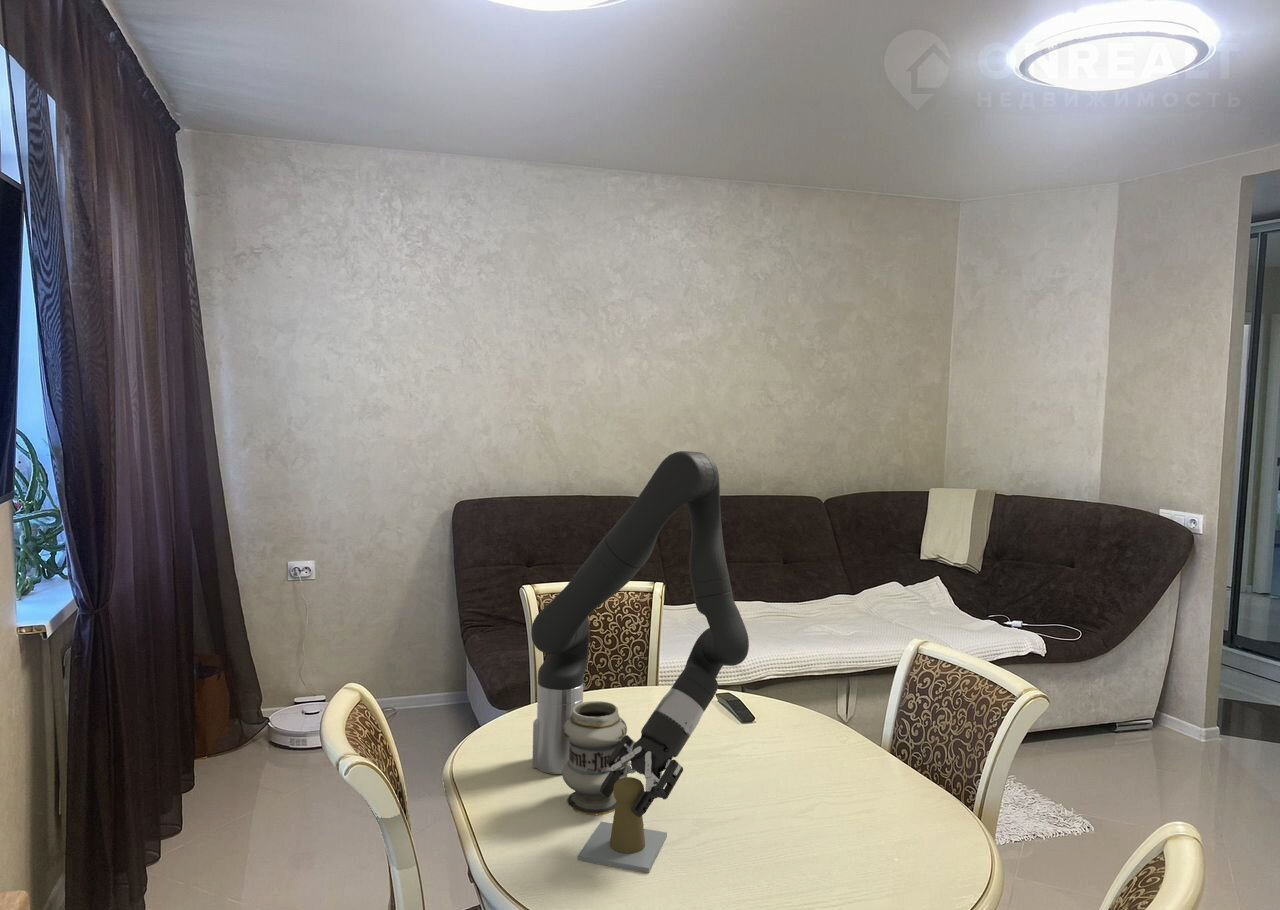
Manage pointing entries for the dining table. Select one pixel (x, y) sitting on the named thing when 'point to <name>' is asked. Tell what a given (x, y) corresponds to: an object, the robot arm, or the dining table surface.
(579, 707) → the apothecary jar
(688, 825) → the dining table surface
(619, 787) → the brown pawn
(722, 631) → the robot arm
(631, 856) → the slate tile
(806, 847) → the dining table surface
